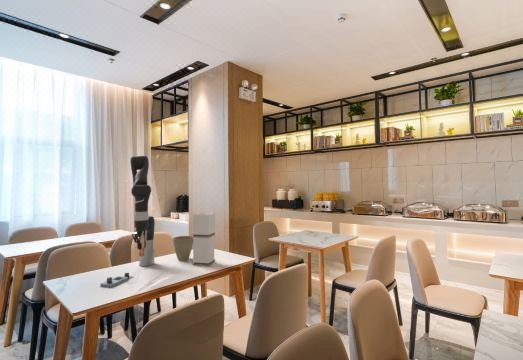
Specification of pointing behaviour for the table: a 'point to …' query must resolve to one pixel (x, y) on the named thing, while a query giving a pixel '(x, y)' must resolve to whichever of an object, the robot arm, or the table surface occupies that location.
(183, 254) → the plant pot
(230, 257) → the table surface
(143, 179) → the robot arm
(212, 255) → the tall lidded box
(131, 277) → the lower chain link
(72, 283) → the table surface
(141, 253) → the copper pin
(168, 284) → the table surface
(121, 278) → the upper chain link
